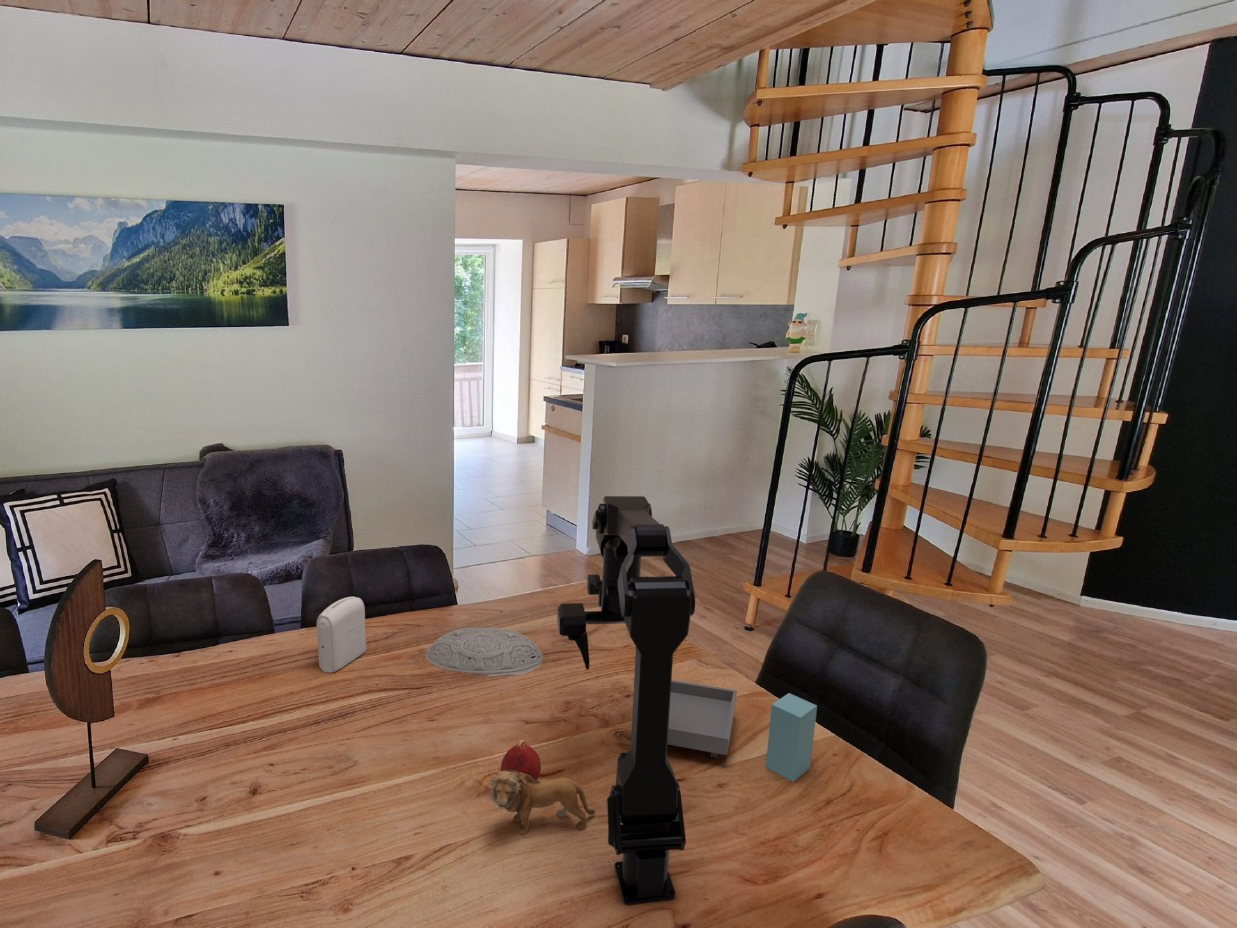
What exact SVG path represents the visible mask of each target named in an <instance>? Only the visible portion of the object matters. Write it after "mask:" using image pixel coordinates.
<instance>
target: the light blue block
mask: <svg viewBox="0 0 1237 928" xmlns="http://www.w3.org/2000/svg"><path fill="white" fill-rule="evenodd" d="M817 710H818V705H817V704H814V703H812V702H809V701H808V700H805V699H803V698H801V697H799V696H797V695H794V694H793V693H790V692H789V693H787V694H786V695H784V696H782V697H781V698H779V699H778V700H777V701H775V702H773V703H772V704H771V709H770V719H769V720H770V721H769V730H768V737H767V738H768V740H767V748H766V749H767V750H766V751H767V752H766V761H765V768H766V769H768V770H770V771H771V772H774V773H775V774H777V775H780V776H781V777H783V778H785V779H786V780H789V781H790V782H792V783H795V782H796V781H797V780H798V779H799V778H800V777H802V776H803V775H804V774H805V773H806V772H808V770H810V769H811V763H812V753H813V746H814V745H813V744H814V739H815V737H814V736H815V729H816V728H815V727H816V722H817V721H816V720H817V712H818V711H817Z"/></svg>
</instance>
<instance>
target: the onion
mask: <svg viewBox="0 0 1237 928" xmlns="http://www.w3.org/2000/svg"><path fill="white" fill-rule="evenodd" d="M500 765H501V766H500V771H504V770H506V771H507V770H513V771H518V772H519V773H520V772H522V773H523V774H527V775H530V776H531V777H532V778H533V779H535V780H537V781H538V779H539V777H540V775H541V771H542V766H541V758H540V755H539V754H538V752H537V751H536V750H535V749H534V748H533V747H531V746H530V745H527V740H525V739H521V740H520V739H519V741H518V743H516V745H515V746H513V747H511V748H510V749H508V750H507V751H506V753H505V754H504V755H503V757H502V760H501V764H500Z"/></svg>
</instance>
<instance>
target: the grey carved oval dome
mask: <svg viewBox="0 0 1237 928" xmlns="http://www.w3.org/2000/svg"><path fill="white" fill-rule="evenodd" d="M532 657H533V658H532ZM425 658H426V661H427V662H428V663H429V664H430V665H432V666H434V667H436V668H439V669H443V670H447V671H451V672H457V673H464V674H475V675H482V676H483V675H484V676H489V677H490V676H491V677H497V676H498V677H499V676H505V675H511V676H512V675H516V676H518V675H519V676H520V675H523V674H527V673H530V672H532V671H534V670H536V669H538V668H539V667H540V666H541V665H542V662H543V660H544V654H543V652H542V650H541V649H540V648H539V647H538V646H537V644H536V643H535V642H534V641H533V640H531V639H530V638H528V637H527V636H526V635H524V634H522V633H520V632H519V631H516V630H514V629H511V628H510V629H507V628H494V627H493V628H492V627H463V628H459V629H456V630H453V631H450V632H448V633H446V634H444V635H442V636H439V638H437V639H436V640H434V642H433V643H432V644H431V645H430V646H429V647H427V648H426V654H425Z"/></svg>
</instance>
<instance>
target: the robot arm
mask: <svg viewBox="0 0 1237 928" xmlns="http://www.w3.org/2000/svg"><path fill="white" fill-rule="evenodd" d="M602 501H603V503H598V506H597V509H596V510H595V511H594V515H593V519H592V521H591V524H592V526H591V527H592V530H594V531H595V539H596V542H597V545H598V549H599V553H600V554H601V557H602V558H603V560H602V577H601V575H600V574H595V573H594V574H589V573H588V574H587V577H586V578H587V580H586V591H587V592H586V593H587V594H588V595H589V596H597V597H598V601H597V603H598V607H599V608H600V610H596V611H595V610H591V611H586V610H585V607H584V603H582V602H580V603H576V602H575V603H574V602H573V603H568V602H567V603H561V604H560V605H559V606H558V607H557V616H556V619H557V620H556V621H557V625H558V632H559V635H560V636H562V637H567V639H568V641H573V642H574V641H575V643H576V645H577V648H578V649H579V651H580V653H581V657H582V660H583V663H584V665H585V669H586V670H590V664H591V663H590V653H589V652H590V651H589V639H588V633H587V625H613V624H614V625H615V624H616V625H617V624H625V625H626V628H627V631H628V635H629V637H630V639H631V641H632V643H634V645H635V657H634V658H635V660H634V676H633V677H634V679H633V696H632V697H633V698H632V717H631V734H630V735H631V739H630V749H629V751H628V752H621V753H620V754H619V756H618V757H617V764H616V765H617V767H616V775H615V776H616V777H615V784H614V785H611V788H610V791H609V796H608V797H607V799H606V802H607V803H606V805H607V807H606V808H607V826H608V827H607V832H608V833H607V844H608V845H609V846H610V847H612V848H613V849H614V851H615V855H616V856H620V855H622V860H620V861H616V862H614V870H615V873H616V874H615V875H616V878H617V882H618V884H619V890H620V893H621V898H622V900H623V903H624V904H626V905H633V904H639V903H640V904H641V903H648V902H656V901H665V900H671V899H675V898H676V890H675V887H674V884H673V882H672V881H673V880H672V878H671V875H670V873H669V862H670V860H669V859H670V851H677V850H678V851H684V850H685V846H686V844H687V843H686V842H687V838H686V837H687V836H686V829H685V819H684V809H683V801H682V793H681V792H682V791H681V788H680V784H679V782H678V781H677V779H676V775H675V773H674V770H673V767H672V764H671V763H670V761H669V759H668V757H667V756H668V755H667V754H668V744H667V742H668V726H669V711H670V695H671V680H673V679H672V676H673V661H674V660H673V659H674V654H675V652H676V651H677V650H678V648H679V647H680V646H681V644H682V643H683V642H684V641H685V640H686V639H687V637H688V635H689V630H690V623H691V622H690V621H691V616H693V615H695V611H696V595H695V588H694V584H693V583H694V582H693V576H692V572H691V570H692V569H691V566H690V564H689V563H688V561H687V560H686V558H684V556H683V555H682V554H681V553H680V552H679V551H678V549H677V548H676V547H675V545H674V544H673V541H672V536H671V529H670V527H669V526H667V525H666V526H665V525H664V524H661V523H660V522H659V521H657V520H656V519H655V518H653V512H652V511H653V509H652V506H651V503H649V501H648V500H647V497H646V496H644V495H643V496H642V495H635V496H634V495H633V496H631V495H626V496H625V495H621V496H620V495H609V496H608V495H606V496H603V499H602ZM642 557H649V558H650V557H662V560H663V562H664V563H665V564H666V566H667V567H668V568H669V569H670V571H671V572H672V573H673V575H675V576H641V568H642Z"/></svg>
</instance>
